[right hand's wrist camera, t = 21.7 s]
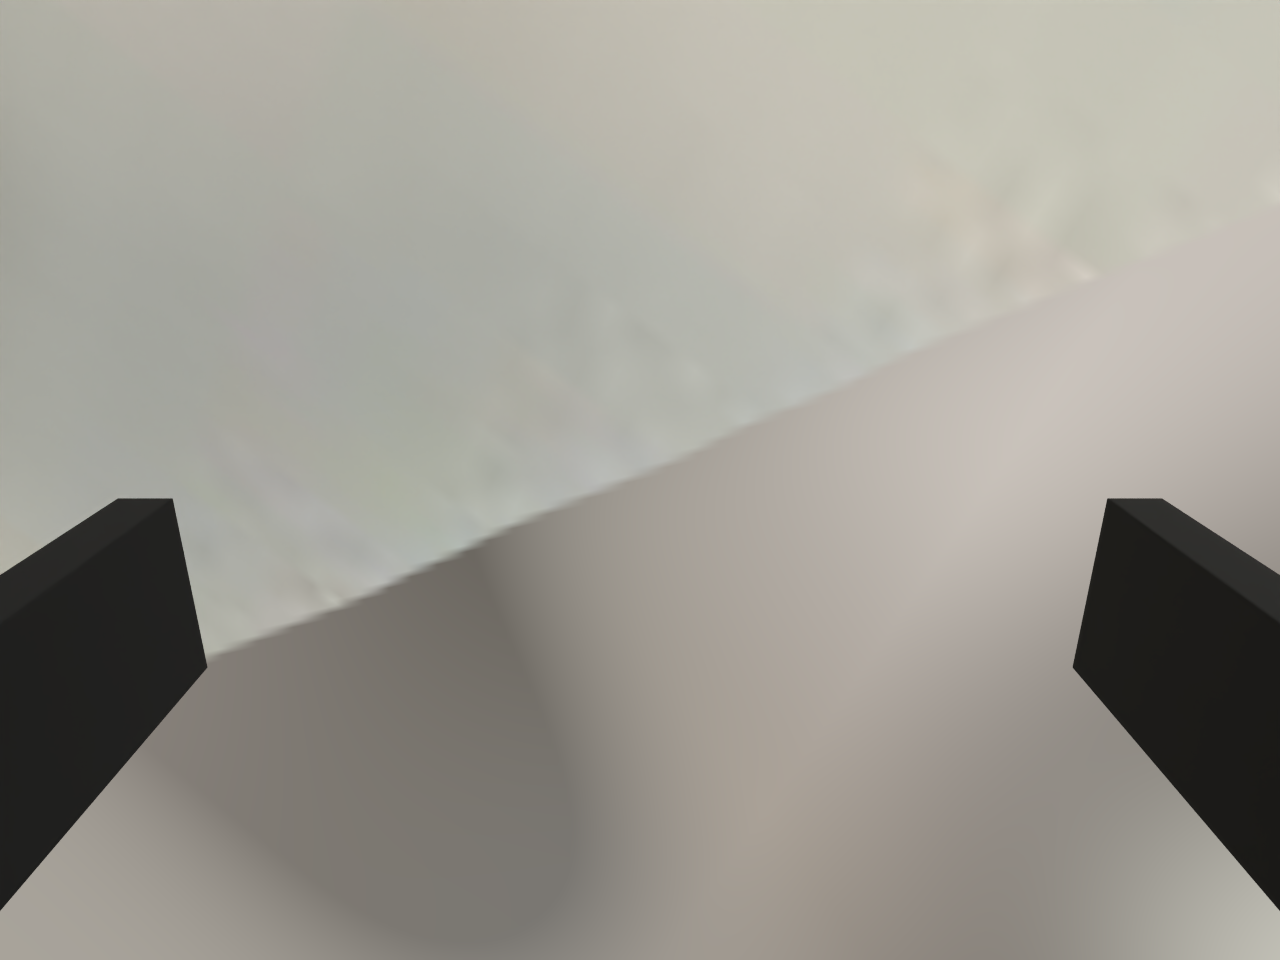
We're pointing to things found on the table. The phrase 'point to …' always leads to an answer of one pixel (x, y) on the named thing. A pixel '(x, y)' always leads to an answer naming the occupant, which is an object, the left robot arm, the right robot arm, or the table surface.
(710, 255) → the table surface
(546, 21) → the table surface
